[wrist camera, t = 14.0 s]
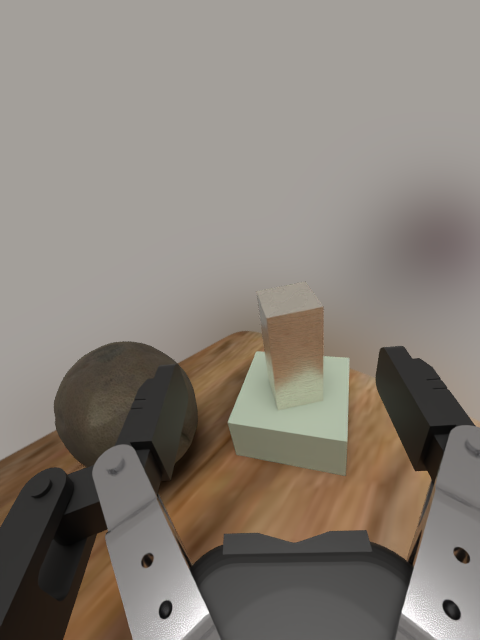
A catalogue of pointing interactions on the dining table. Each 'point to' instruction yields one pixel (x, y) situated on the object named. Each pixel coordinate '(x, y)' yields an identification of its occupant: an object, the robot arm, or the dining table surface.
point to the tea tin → (292, 343)
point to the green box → (293, 421)
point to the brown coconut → (110, 398)
